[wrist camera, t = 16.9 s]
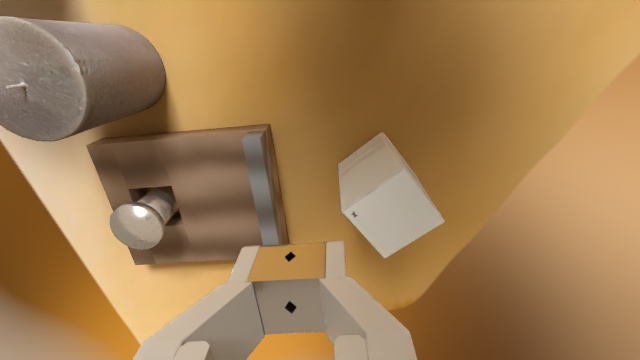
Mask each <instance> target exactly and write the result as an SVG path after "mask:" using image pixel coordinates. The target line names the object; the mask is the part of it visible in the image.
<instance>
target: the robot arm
mask: <svg viewBox="0 0 640 360" xmlns="http://www.w3.org/2000/svg"><path fill="white" fill-rule="evenodd" d="M294 332H326V334H327V336H328V338H329V339H330V341H331V342H332V344H333V345H334V347H335V356H334V358H335V359H334V360H417V357H416V353H415V350H414V346H413V342H412V338H411V334H410V331H409V330H408V329H406V328H405V327H404V326H403V325H402V324H401V323H400V322H399V321H398V320H397V319H396V318H395V317H394V316H393V315H392V314H390V313H389V312H388V311H387V310H386V309H385V308H384V307H383V306H382V305H381V304H380V303H379V302H378V301H377V300H376V299H374V298H373V297H372V296H371V295H370V294H369V293H368V292H367V291H366V290H365V289H364V288H363V287H362V286H361V285H360V284H358V283H357V282H356V281H355V280H354V279H353V278H352V277H347V272H346V259H345V246H344V241H343V240H339V241H329V242H321V243H308V244H295V245H294V244H285V245H261V246H245V247H243V248H242V249H241V251H240V254H239V256H238V258H237V261H236V263H235V265H234V268H233V270H232V272H231V275H230V277H229V279H228V281H227V284H221V285H219V286H218V287H217V288H215V289H214V290H213V291H211V292H210V293H209V294H207V295H206V296H205V297H203V298H202V299H200V300H199V301H198V302H196V303H195V304H194V305H192V306H191V307H190V308H188V309H187V310H186V311H184V312H183V313H182V314H180V315H179V316H178V317H176V318H175V319H174V320H172V321H171V322H170V323H168V324H167V325H165V326H164V327H163V328H161V329H160V330H159V331H157V332H156V333H155V334H153V335H152V336H151V337H149V338H148V339H147V340H145V341H144V342H143V343H142V345H141V347H140V348H139V350H138V352H137V353H136V355H135V356H134V358H133V360H246V359H247V358H248V357H249V355H250V354H251V353H252V352H253V350H254V349H255V348H256V346H257V345H258V344H259V343H260V341H261V340H262V339H263V338H264V335H266V334H280V333H294Z"/></svg>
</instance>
